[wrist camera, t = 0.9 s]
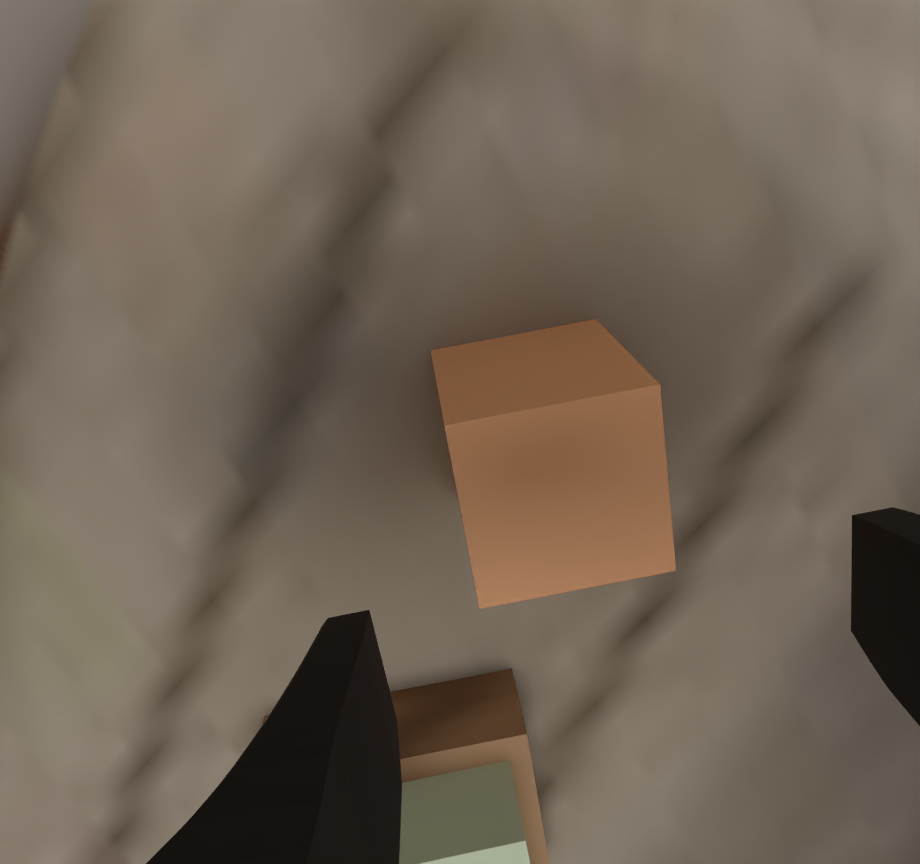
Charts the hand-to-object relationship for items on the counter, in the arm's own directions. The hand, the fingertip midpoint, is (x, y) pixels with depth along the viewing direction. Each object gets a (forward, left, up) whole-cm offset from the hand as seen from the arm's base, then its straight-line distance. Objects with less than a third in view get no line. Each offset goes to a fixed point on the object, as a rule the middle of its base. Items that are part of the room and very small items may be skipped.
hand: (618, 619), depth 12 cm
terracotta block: (0, 0, -9) cm, 9 cm away
